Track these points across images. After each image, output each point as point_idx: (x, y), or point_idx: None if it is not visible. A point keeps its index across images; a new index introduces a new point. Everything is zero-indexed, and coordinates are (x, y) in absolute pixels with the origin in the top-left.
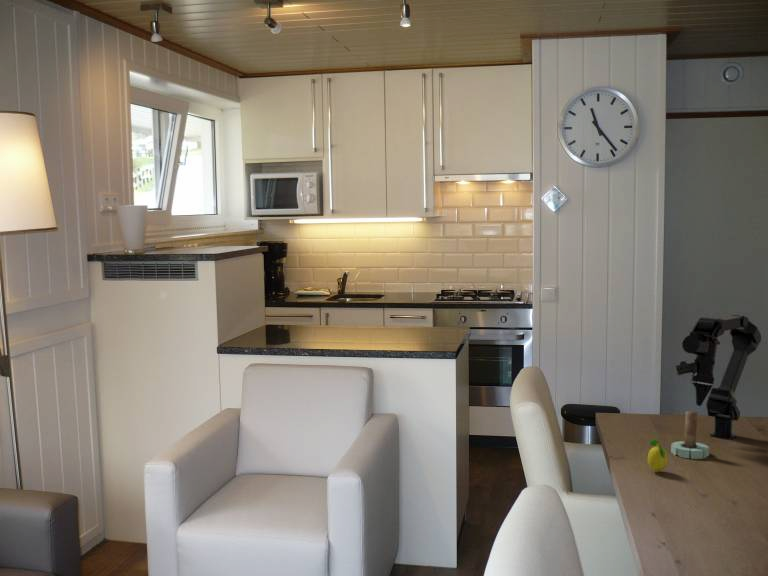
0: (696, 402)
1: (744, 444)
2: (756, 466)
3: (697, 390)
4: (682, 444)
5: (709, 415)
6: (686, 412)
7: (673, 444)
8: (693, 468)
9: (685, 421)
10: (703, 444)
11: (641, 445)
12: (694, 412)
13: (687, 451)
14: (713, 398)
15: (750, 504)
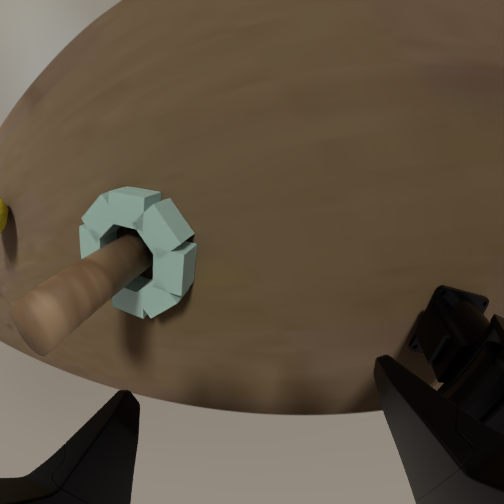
0: (382, 368)
1: (358, 384)
2: (153, 392)
3: (42, 470)
4: (135, 228)
5: (491, 321)
6: (12, 306)
7: (108, 200)
8: (53, 272)
9: (43, 282)
10: (171, 301)
11: (153, 68)
12: (36, 344)
13: (83, 256)
14: (489, 420)
15: (18, 342)
